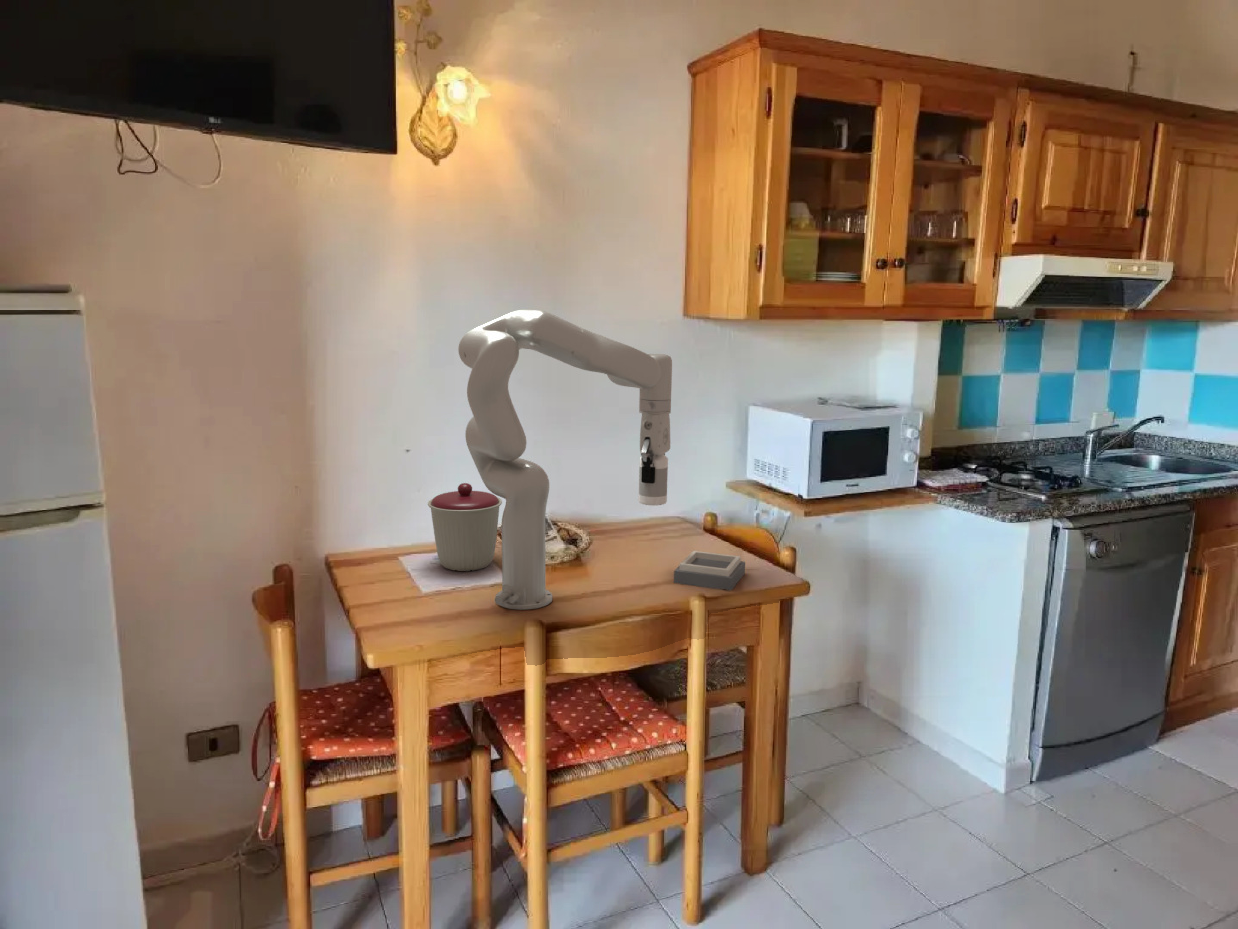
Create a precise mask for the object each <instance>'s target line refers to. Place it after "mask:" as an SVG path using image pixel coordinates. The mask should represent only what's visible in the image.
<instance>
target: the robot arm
mask: <svg viewBox="0 0 1238 929" xmlns="http://www.w3.org/2000/svg"><path fill="white" fill-rule="evenodd" d="M522 349H525V350H531V351H535V352H537V353H540V354H543V355H545V356H548V357H550V358H553V359H555V360H557V361H560V362H562V363H564V364H565V365H569V366H571V367H573V368H577V369H580V370H583V371H588V372H594V373H600V374H604V375H607V377H608V379H609V380H610V381H611V382H612V383H613V384H615V385H618V386H623V387H627V388H635V389H639V397H638V398H639V402H638V403H639V404H638V406H639V408H638V410H639V412H638V413H640V414H641V420H640V430H639V431H640V433H639V452H640V457H642V458H641V459H642V464H641V465H642V479H641V481H642V483H652V484H653V483H655V467H654V462H655V456H656V455H657V456H660V455H662V454H663V455H665V456H666V453H668V452H669V451H670V449H671V418H670V414H671V413H672V412H671V410H672V376H673V359H672V357H671V355H668V354H663V353H649V354H648V353H646V352H644V351H642V350H640V349H638V348H635V347H632V346H630V345H628V344H625V343H622V342H620V341H616V340H614V339H611V338H609V337H606V336H604V335H601V334H597V333H596V332H592V331H590V330H588V329H585V328H583V327H581V326H578V325H576V324H574V323H572V322H570V321H567V320H565V319H563V318H561V317H558V316H556V315H554V314H552V313H550V312H547V311H544V310H539V309H518V310H514V311H511V312H509V313H507V314H504V315H502V316H500V317H498V318H495V319H493V320H491V321H489V322H487V323H484V324H481V325H479V326H477V327H475V328H473V329H471V330H469V331H467V332H466V333H465V334H464V335H463V336H462V337H461V339H460V341H459V343H458V350H457V351H458V356H459V358H460V360H461V362H462V363H463V364H464V365H465V366H466V367H468V368H470V369H471V371H470V374H469V377H468V380H467V381H468V382H467V388H466V395H467V397H466V398H467V401H468V405H469V408H470V410H471V412H472V417H471V418H470V419H469V421H468V422H467V425H466V427H465V428H466V429H465V433H464V434H465V442H466V443H465V444H466V446H467V448H468V451H469V454H470V455H471V458H472V460H473V463H474V465H475V468H476V469H477V473H478V474H479V476H480V478H481V480H482V482H483V484H484V485H485V487H486V489H487V490H489V492H491V494H493V495H495V496H496V497H500V498H503V499H505V507H504V510H503V512H502V518H501V564H502V565H501V573H502V574H501V578H502V580H501V582H502V584H501V589H502V590H500V591H499V592H497V593H496V594H495V597H494V602H495V604H496V605H498V606H500V607H502V608H505V609H510V610H516V611H517V610H519V611H520V610H521V611H522V610H523V611H524V610H535V609H540V608H543V607H547V606H548V605H549V604H550V603H552V601H553V593H552V592H551V591H550V590H548V589H547V588H546V514H547V511H546V510H547V504H548V499H549V492H550V479H549V476H548V474H547V472H546V471H545V470H544V469H543V467H541V466H540V465H538V463H535V462H533V461H531V460H527V459H524V458H521V457H522V455H523V454H524V453H525V451H526V449H527V436H526V432H525V430H524V428H523V426H522V423H521V420H520V419H519V416H518V413H517V411H516V409H515V406H514V405H513V402H512V398H511V395H510V392H509V381H510V378H511V375H512V373H513V370H514V368H515V367H516V365H517V363H518V360H519V357H520V356H519V355H520V350H522ZM648 452H653V454H652V453H648ZM650 457H652V458H651V460H650Z"/></svg>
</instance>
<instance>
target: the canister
mask: <svg viewBox="0 0 1238 929" xmlns="http://www.w3.org/2000/svg"><path fill="white" fill-rule="evenodd" d="M502 504H503V500H502V499H501V497H500V498H499V496H497V495H495V494H493V493H492V492H491V493H490V492H487V491H480V490H473V486H472V484H470V483H466V482H465V483H464V482H463V483H460V484H459V485H457V490H454V491H448V492H444V493H441V494H438V495H436V496H435V497H433V498H431V499H430V500H428V502H427V505H428V507H429V509H430V512H431V521H432V526H433V528H432V529H433V535H434V542H435V546H436V553H437V558H438V561H439V562H440V564H441V565H442V566H443V567H444V568H446V569H448V570H451V571H455V570H457V572H471V571H470V570H472V571H476V570H477V571H478V570H482V569H485V568H487V567H489V565H490V564H492V562H493V559H494V558H495V557H494V556H495V554H496V553H495V552H496V543H497V537H498V536H497V534H498V526H499V514H500V506H501V505H502Z"/></svg>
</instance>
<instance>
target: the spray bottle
mask: <svg viewBox="0 0 1238 929" xmlns="http://www.w3.org/2000/svg"><path fill="white" fill-rule="evenodd" d="M648 453H652V454H653V452H648ZM641 458H642V457H641V456H640V457H639V469H638V477H639V478H638V502H639V504H642V505H645V506H661V505H663V506H664V505H665V504H667V501H668V500H667V499H668V468H669V467H668V465H669V459H668V458H669V457H667V456H666V454H665V455H663V454H662V455H660V456H657V455H656V456H655V462H654V467H655V483H653V484H652V483H642V481H641V479H642V465H641V464H642V459H641ZM651 458H652V457H650V460H651Z"/></svg>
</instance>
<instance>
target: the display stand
mask: <svg viewBox="0 0 1238 929" xmlns="http://www.w3.org/2000/svg"><path fill="white" fill-rule="evenodd" d="M745 573H746V561H744V560H743V561H742V558H741V556H740V555H732V554H723V553H714V552H707V551H699V550H698V551H697V550H693V551H692V552H691V553H690V554H688V555H687V556H686V557H685V558H684V559H683V560H682V561H681V562H680V563H679V566H678V567H677V568H675V569H674V571H673V583H674V584H680V585H688V586H692V587H693V586H695V587H702V588H709V589H716V590H722V589H727V590H726V591H730V590H731V591H732V590H733V589H734V588H735V587H736V585H737V584H738V583H739V582H740V581H741V579H742V578H743V576H744V575H745Z"/></svg>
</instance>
